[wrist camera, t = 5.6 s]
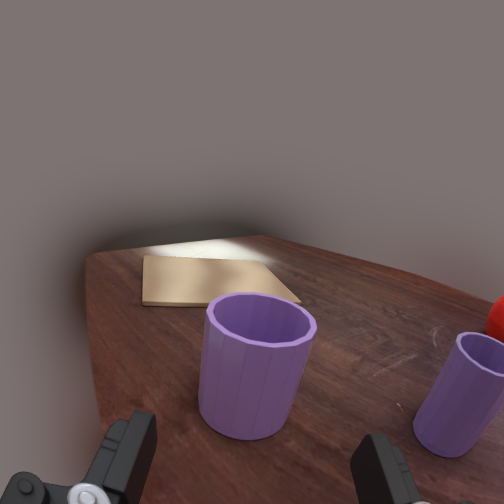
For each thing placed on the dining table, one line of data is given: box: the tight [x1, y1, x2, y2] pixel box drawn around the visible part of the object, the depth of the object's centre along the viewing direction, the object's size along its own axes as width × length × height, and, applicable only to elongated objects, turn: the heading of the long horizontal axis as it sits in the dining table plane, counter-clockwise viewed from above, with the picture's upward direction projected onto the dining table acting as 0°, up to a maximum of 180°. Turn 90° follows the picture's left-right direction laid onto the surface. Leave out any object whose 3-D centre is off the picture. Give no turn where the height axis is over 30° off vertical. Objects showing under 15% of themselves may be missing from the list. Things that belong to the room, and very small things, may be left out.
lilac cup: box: [413, 332, 504, 458], centre depth 16 cm, size 7×7×8 cm
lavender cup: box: [198, 292, 317, 440], centre depth 19 cm, size 7×7×8 cm
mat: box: [142, 255, 301, 307], centre depth 42 cm, size 20×16×1 cm
